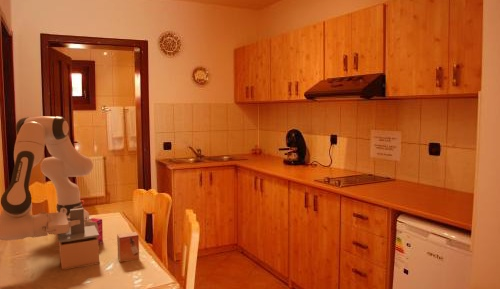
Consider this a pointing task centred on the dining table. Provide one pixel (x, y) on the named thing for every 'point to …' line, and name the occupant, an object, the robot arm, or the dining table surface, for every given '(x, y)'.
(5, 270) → the dining table surface
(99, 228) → the supplement box
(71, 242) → the large tan box
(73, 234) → the grey plate with knob
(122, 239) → the small box
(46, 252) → the dining table surface
